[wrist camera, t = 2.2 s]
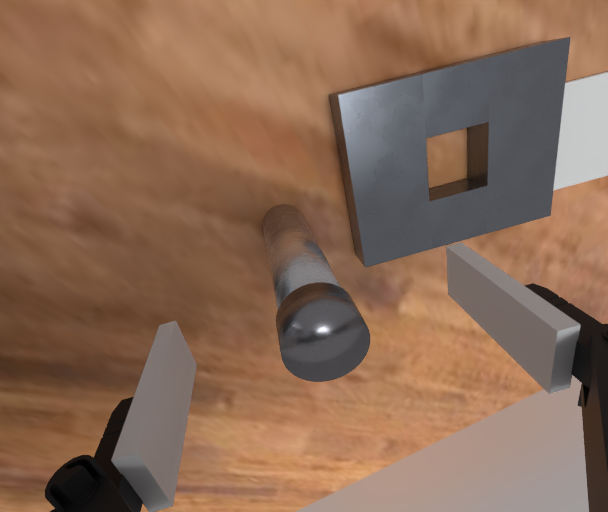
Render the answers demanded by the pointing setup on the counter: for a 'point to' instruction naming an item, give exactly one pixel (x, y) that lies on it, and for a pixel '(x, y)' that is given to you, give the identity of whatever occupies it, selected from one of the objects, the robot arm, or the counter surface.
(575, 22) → the counter surface
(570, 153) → the pad
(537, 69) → the plate
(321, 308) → the key peg
